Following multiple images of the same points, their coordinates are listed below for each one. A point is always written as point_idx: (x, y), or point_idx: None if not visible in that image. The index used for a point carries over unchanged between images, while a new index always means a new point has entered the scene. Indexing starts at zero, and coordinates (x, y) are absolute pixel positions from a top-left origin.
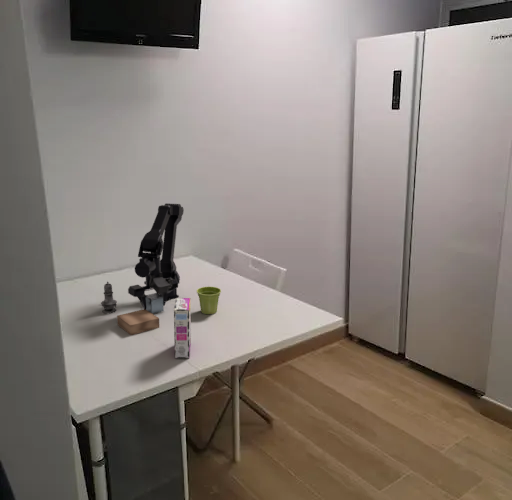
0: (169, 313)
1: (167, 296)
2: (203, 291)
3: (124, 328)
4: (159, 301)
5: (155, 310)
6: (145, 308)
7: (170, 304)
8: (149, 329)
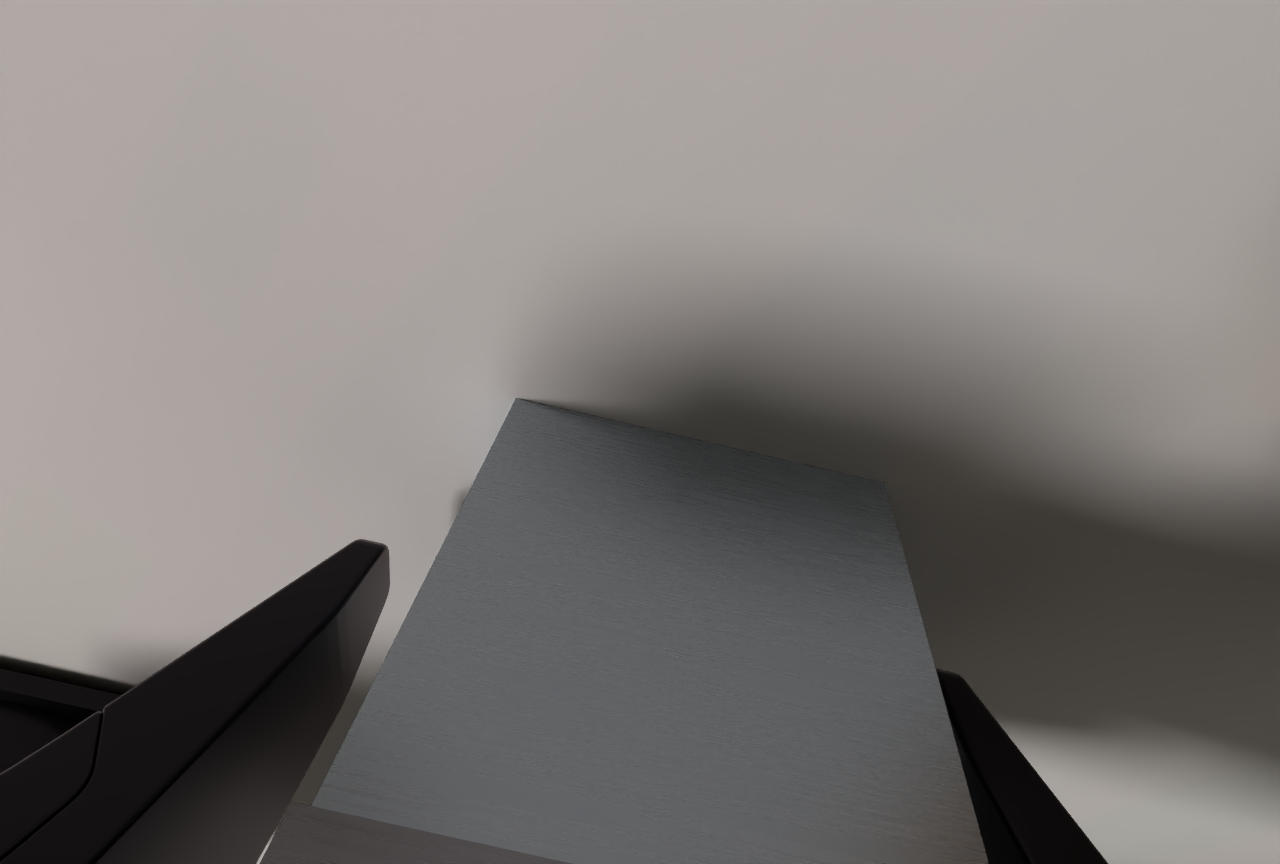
0: (502, 78)
1: (28, 766)
2: None
3: None
4: (569, 715)
5: (774, 505)
6: (986, 724)
7: (161, 534)
8: None
